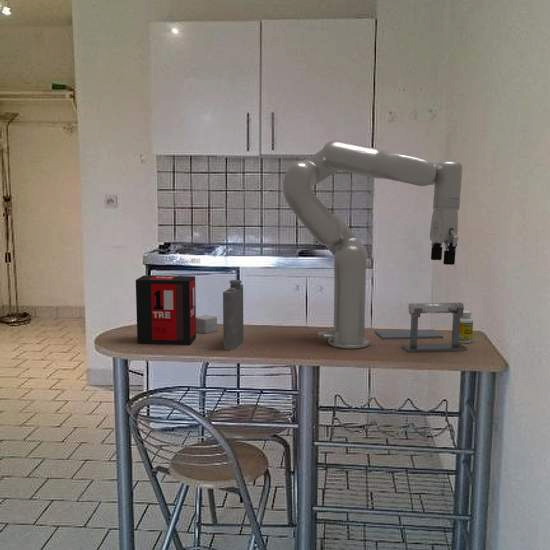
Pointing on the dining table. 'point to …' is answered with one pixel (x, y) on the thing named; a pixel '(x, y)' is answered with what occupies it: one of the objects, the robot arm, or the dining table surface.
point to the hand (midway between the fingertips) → (442, 262)
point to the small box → (206, 324)
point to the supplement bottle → (466, 327)
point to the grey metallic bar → (435, 307)
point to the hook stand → (437, 346)
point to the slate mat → (407, 334)
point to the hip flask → (233, 316)
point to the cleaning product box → (166, 310)
